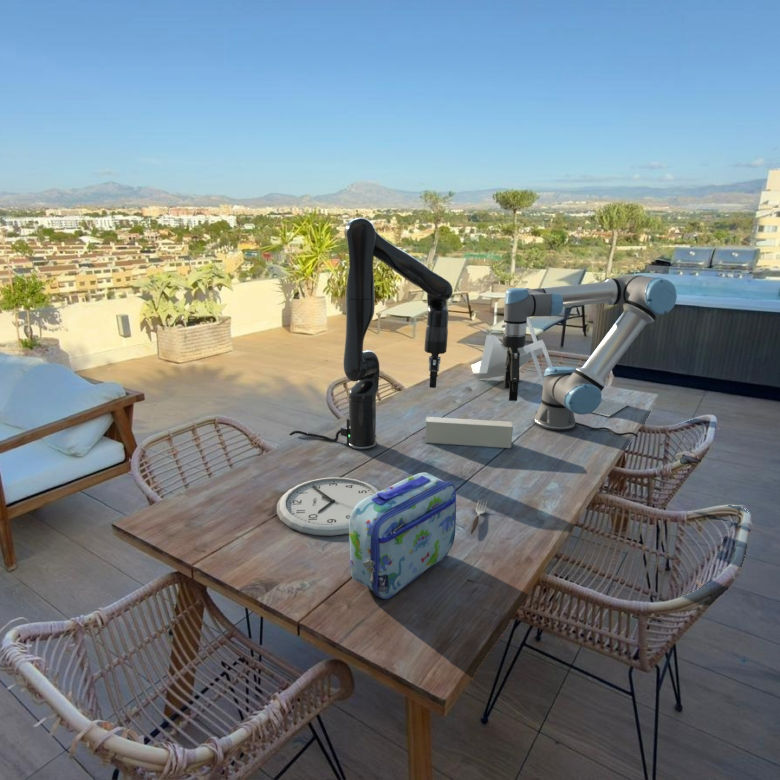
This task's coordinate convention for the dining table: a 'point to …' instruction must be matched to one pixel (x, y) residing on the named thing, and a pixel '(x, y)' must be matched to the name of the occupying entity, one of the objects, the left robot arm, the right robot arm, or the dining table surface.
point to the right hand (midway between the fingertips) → (510, 394)
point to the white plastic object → (497, 354)
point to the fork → (479, 511)
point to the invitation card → (608, 407)
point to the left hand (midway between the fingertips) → (432, 383)
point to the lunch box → (401, 532)
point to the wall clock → (323, 505)
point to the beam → (468, 432)
